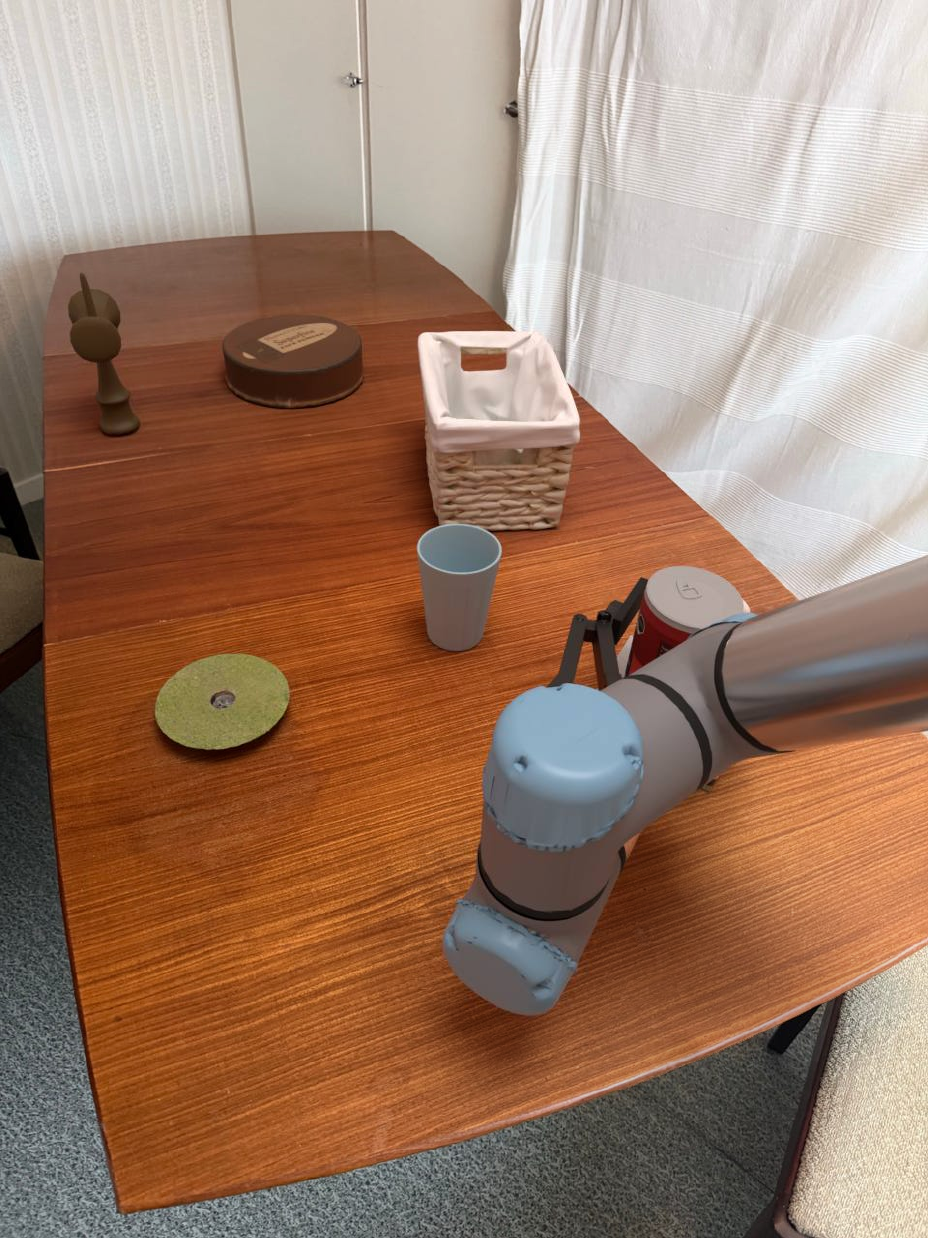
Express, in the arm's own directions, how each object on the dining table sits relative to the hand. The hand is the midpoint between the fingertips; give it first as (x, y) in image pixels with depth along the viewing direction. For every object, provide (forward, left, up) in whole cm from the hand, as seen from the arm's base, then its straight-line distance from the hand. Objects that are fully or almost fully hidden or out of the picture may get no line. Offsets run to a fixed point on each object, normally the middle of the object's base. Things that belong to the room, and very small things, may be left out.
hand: (697, 610), depth 71 cm
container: (+75, +11, -9) cm, 77 cm away
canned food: (-2, +4, -6) cm, 8 cm away
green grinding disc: (+14, +38, -9) cm, 42 cm away
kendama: (+69, +37, -9) cm, 79 cm away
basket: (+38, -1, -9) cm, 39 cm away
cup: (+15, +15, -9) cm, 24 cm away
